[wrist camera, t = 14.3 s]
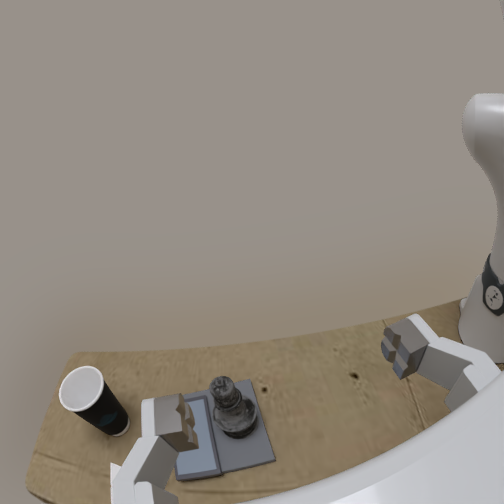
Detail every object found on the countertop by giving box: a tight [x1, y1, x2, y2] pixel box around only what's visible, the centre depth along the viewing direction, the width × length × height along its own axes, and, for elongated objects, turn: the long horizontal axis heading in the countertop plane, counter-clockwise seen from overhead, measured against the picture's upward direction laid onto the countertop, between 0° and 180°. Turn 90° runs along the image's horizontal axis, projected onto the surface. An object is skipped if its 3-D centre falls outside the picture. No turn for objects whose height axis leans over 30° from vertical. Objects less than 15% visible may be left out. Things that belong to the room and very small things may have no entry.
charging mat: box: [182, 379, 276, 474], centre depth 36 cm, size 13×14×1 cm
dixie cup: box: [59, 366, 130, 436], centre depth 35 cm, size 8×8×11 cm
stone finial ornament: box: [209, 376, 259, 439], centre depth 33 cm, size 6×6×12 cm
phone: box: [174, 395, 223, 481], centre depth 34 cm, size 6×13×1 cm, turn 14°
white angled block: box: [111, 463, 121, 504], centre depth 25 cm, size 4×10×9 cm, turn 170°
